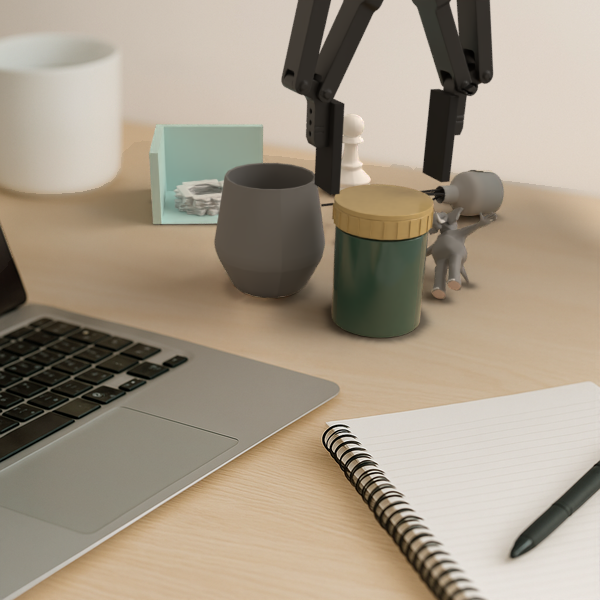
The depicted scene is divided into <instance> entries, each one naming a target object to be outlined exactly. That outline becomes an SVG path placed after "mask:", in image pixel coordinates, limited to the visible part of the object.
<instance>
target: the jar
mask: <svg viewBox="0 0 600 600" xmlns="http://www.w3.org/2000/svg"><path fill="white" fill-rule="evenodd" d="M428 241H429V231H428V232H426V233H425V234H423V235H420V236H418V237H414V238H409V239H402V240H378V239H370V238H363V237H359V236H355V235H352V234H349V233H346V232H344V231H343V230H341V229H339V228H338V227H337V226H336V225H335V224H334V247H333V268H332V269H333V270H332V271H333V272H332V289H331V291H332V292H331V315H330V316H331V319H332V321H333V323H334V324H335V325H336V326H337V327H339V328H340V329H342V330H344V331H346V332H348V333H351V334H353V335H357V336H360V337H361V336H362V337H366V338H377V339H379V338H380V339H382V338H383V339H384V338H385V339H386V338H394V337H400V336H404V335H407V334H409V333H411V332H413V331H414V330H416V329H417V328H418V326H419V324H420V322H421V312H422V302H423V291H424V283H425V282H424V281H425V270H426V261H427V257H426V252H427V248H428Z"/></svg>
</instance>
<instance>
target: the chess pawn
mask: <svg viewBox="0 0 600 600" xmlns="http://www.w3.org/2000/svg"><path fill="white" fill-rule="evenodd" d="M365 126H366V125H365V121H364V119H363V118H362V116H360V115H359V114H356V113H347V114H346V115H344V122H343V141H342V144H343V145H344V146H343V151H342V159H341V178H340V190H342V189H345V188H348V187H352V186H357V185H367V184H371V181H372V179H371V177H370V175H369V174H368V173H367V172H366V171H365V170H364V169H363V166H364V163H363V162H362V161H361V160H360V158H359V145H360V144H363V143H364V142H365V141H364V138H363V137H362V136H361V135H363V133H364V130H365ZM335 195H336V194H335ZM335 195H334V196H335Z"/></svg>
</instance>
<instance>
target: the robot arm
mask: <svg viewBox="0 0 600 600" xmlns="http://www.w3.org/2000/svg"><path fill="white" fill-rule="evenodd" d="M451 1H452V0H411V2H412V3H413V5H414V6H415V7H416V9H417V12H418V15H419V18H420V22H421V24H422V28H423V31H424V34H425V38H426V41H427V44H428V47H429V51H430V54H431V58H432V60H433V63H434V66H435V70H436V74H437V76H438V79H439V83H440V85H441V86H442V87H443V88H442V89H441V88H430V89H429V90H430V91H429V102H428V110H427V111H428V113H427V122H426V130H425V131H426V132H425V143H424V151H423V152H424V153H423V163H422V174H424V175H426V176H428V177H430V178H431V179H433V180H435V181H438V182H440V183H451V181H450V180H451V172H452V163H453V153H454V146H455V145H454V144H455V137H456V136H461V134H462V132H463V129H464V123H465V115H466V106H467V97H472V96H474V95H475V94H476V93H477V92H478V90H479V85H481V84H483V85H486V84H487V85H488V84H489V83H490V82H491V81H492V80H493V78H494V61H493V60H494V59H493V58H494V57H493V37H492V15H491V13H492V12H491V0H456V13H457V24H456V21H455V18H454V14H453V11H452V7H451V4H450V3H451ZM383 2H384V0H342V3H341V5H340V7H339V9H338V12H337V15H336V16H335V19H334V20H333V23H332V25H331V26H330V29H329V31H328V33H327V36H326V38H325V41H324V42H323V37H324V34H325V29H326V26H327V21H328V16H329V12H330V7H331V3H332V0H297V3H296V7H295V11H294V17H293V22H292V27H291V32H290V36H289V41H288V45H287V49H286V55H285V59H284V64H283V69H282V73H281V79H280V80H281V81H280V82H281V85H282V86H283V87H284V88H285V89H287V90H290V91H292V92H294V93H296V94H298V95H301V96H304V98H305V101H306V121H305V122H306V123H305V139H306V140H307V143H308V144H309V145H311V146H313V147H314V148H315V159H314V174H315V182H314V184H315V185H316V186H318V189H321V191H323V192H325V193H327V194H328V195H330V196H335V194H340V178H341V159H342V156H343V143H342V141H343V122H344V116H345V103H344V102H342V101H341V100H337V99H336V98H335V96H336V94H337V92H338V91H339V88H340V86H341V83H342V81H343V80H344V78H345V76H346V73H347V71H348V68H349V66H350V65H351V62H352V61H353V58H354V56H355V54H356V52H357V50H358V47H359V45H360V44H361V41H362V39H363V37H364V35H365V33H366V30H367V28H368V26H369V24H370V22H371V20H372V17H373V15H374V13H376V12H377V11H378V10H380V8H381V6H382V5H383ZM322 42H323V45H322ZM321 46H322V47H321Z"/></svg>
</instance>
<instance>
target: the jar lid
mask: <svg viewBox="0 0 600 600" xmlns="http://www.w3.org/2000/svg"><path fill="white" fill-rule="evenodd" d="M421 191H422V190H417V189H414V188H411V187H408V186H402V185H396V184H395V185H394V184H386V183H385V184H383V183H370V184H367V185H357V186H352V187H348V188H345V189H342V190H340V194H336V195H334V197H333V202H332V203H333V205H332V213H331V214H332V216H331V219H332V220H333V224H334V226H335V225H336V226H337V227H338V228H339V229H341V230H343V231H344V232H346V233H349V234H352V235H355V236H359V237H363V238H370V239H378V240H402V239H409V238H414V237H418V236H420V235H423V234H425V233H426V232H428V231H429V230H430V228H432V223H433V213H435V207H434V204H435V203H434V201H433V200H432V198H433V197H432V196H428V195H427V194H425V193H423V192H421ZM428 233H429V232H428Z"/></svg>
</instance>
